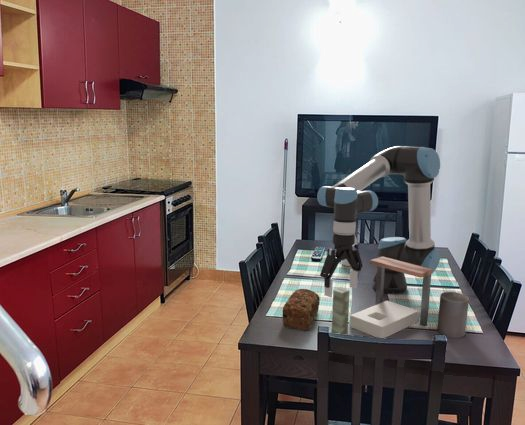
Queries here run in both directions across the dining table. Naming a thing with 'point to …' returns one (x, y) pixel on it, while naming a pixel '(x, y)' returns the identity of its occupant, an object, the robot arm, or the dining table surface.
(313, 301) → the bread
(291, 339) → the dining table surface
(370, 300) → the dining table surface
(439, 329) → the pillar candle
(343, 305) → the peg
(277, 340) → the dining table surface
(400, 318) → the socket stand
